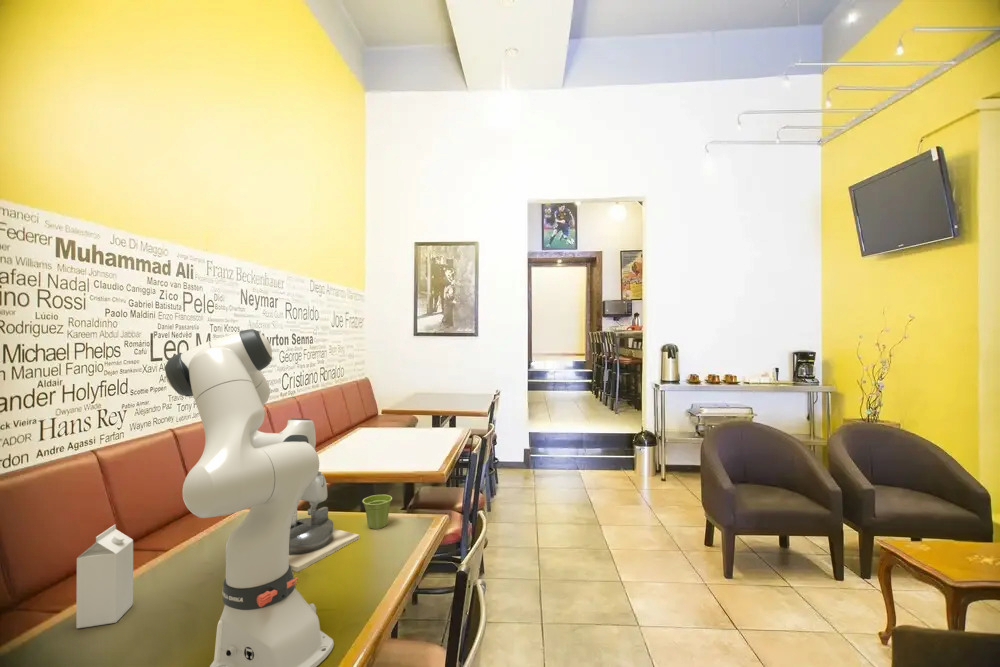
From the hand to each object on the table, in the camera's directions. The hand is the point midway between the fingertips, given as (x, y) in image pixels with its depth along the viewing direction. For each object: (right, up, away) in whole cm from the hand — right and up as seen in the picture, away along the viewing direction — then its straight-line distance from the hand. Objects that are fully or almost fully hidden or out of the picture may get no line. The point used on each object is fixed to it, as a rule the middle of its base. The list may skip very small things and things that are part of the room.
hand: (301, 512), depth 141 cm
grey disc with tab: (+5, -5, -10) cm, 12 cm away
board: (+5, -6, -10) cm, 13 cm away
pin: (+3, -1, -14) cm, 14 cm away
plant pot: (+23, -7, +5) cm, 24 cm away
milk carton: (-24, -6, -43) cm, 49 cm away
